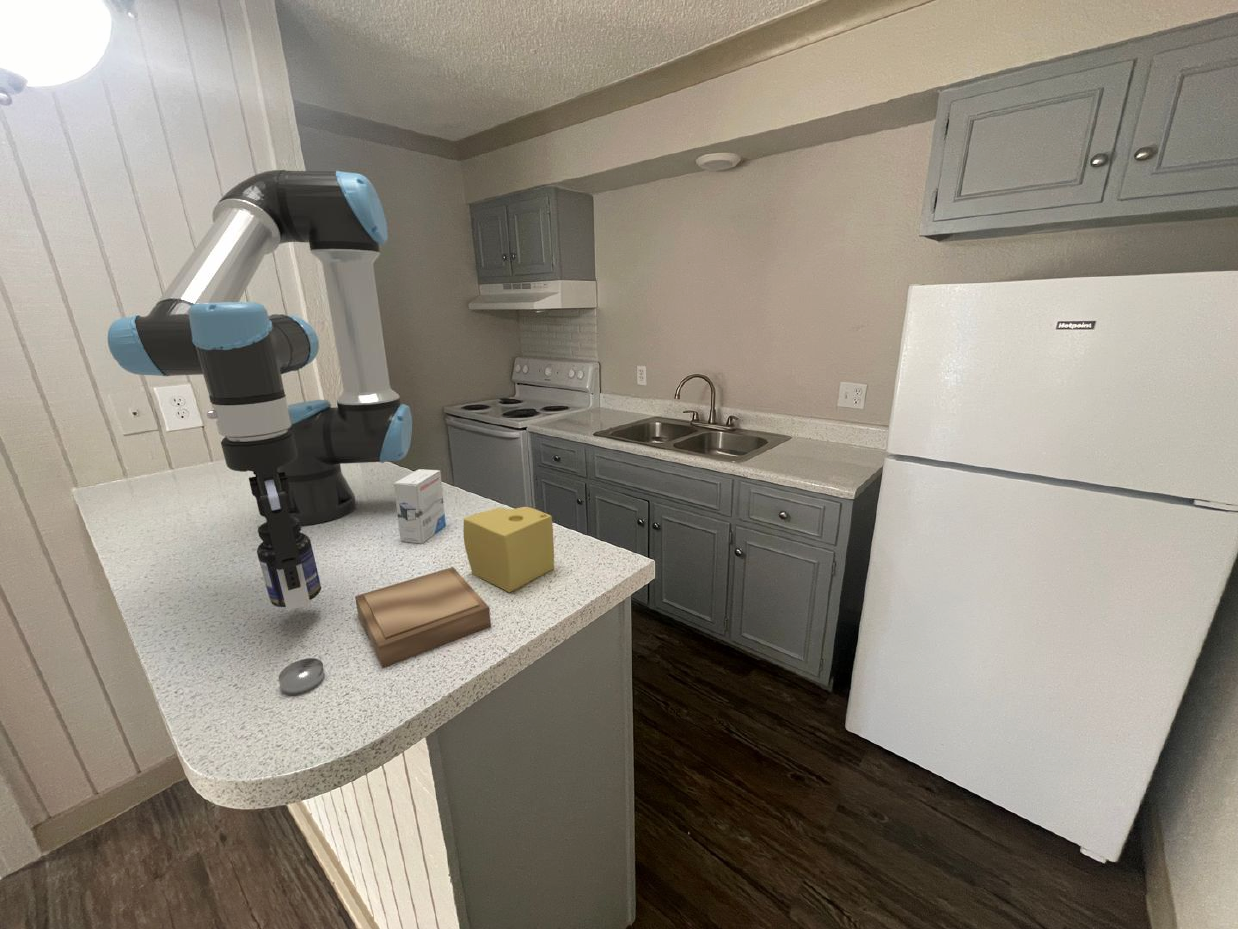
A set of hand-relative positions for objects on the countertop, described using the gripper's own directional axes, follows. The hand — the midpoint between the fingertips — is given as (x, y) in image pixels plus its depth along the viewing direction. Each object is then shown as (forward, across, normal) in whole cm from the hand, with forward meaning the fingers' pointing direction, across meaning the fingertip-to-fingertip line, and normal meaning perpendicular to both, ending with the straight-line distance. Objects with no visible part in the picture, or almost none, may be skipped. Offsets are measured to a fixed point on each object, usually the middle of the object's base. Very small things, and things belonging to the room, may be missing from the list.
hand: (295, 594), depth 71 cm
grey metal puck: (+4, +15, -1) cm, 15 cm away
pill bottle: (+1, 0, 0) cm, 1 cm away
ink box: (+5, -18, +23) cm, 30 cm away
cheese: (+5, +6, +30) cm, 30 cm away
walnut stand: (+4, +11, +14) cm, 18 cm away
